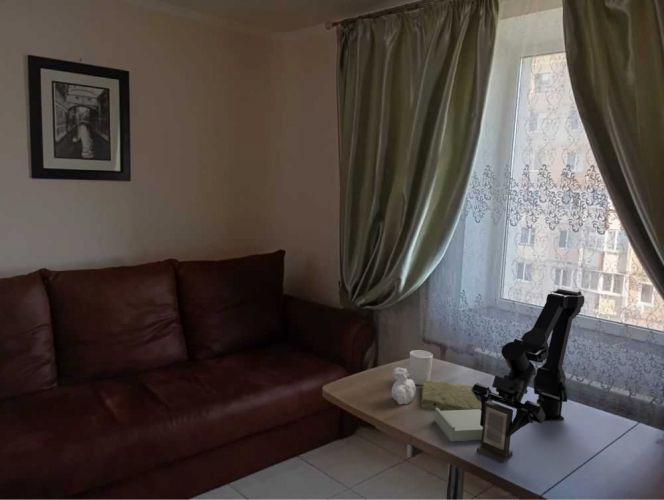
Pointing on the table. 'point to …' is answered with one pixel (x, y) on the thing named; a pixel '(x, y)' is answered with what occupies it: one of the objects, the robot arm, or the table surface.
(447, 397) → the decorative tile
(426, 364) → the white cup
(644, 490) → the table surface
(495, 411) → the dark photo frame
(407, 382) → the bust
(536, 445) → the table surface
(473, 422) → the picture ledge
